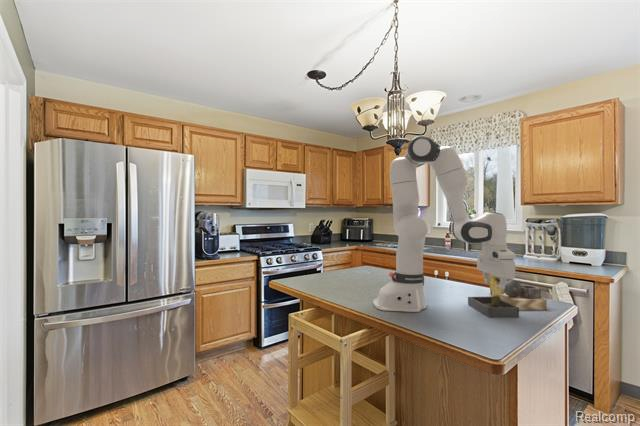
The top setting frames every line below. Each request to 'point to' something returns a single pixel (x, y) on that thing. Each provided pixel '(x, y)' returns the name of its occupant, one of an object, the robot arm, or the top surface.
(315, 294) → the top surface
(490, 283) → the sauce bottle
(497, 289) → the pin
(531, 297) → the block
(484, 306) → the tray
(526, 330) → the top surface
